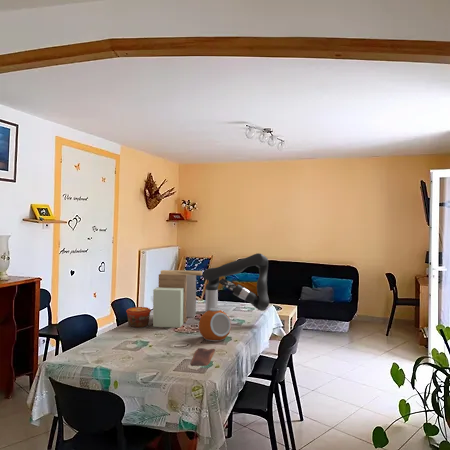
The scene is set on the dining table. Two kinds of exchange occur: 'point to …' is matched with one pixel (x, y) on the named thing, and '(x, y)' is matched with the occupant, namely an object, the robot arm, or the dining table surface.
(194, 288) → the grey tall block
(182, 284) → the tall wooden block
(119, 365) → the dining table surface
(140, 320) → the food container
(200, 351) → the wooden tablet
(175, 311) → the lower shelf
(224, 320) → the alarm clock
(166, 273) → the oak strip
